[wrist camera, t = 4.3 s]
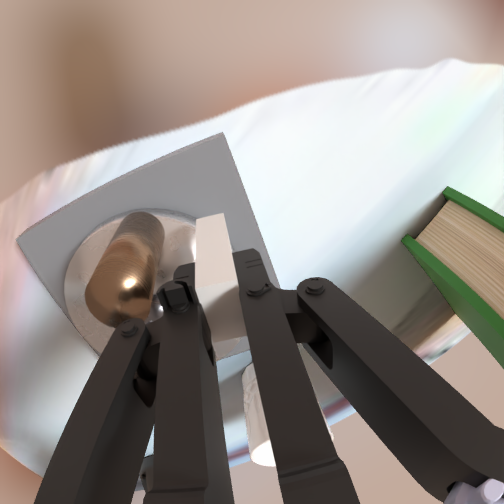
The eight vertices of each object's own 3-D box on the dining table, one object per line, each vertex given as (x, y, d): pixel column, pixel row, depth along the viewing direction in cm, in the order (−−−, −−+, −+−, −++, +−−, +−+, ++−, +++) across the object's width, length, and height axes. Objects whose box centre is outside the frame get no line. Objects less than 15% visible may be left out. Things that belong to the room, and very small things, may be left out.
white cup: (319, 359, 33) (350, 431, 24) (279, 399, 35) (298, 467, 26) (261, 341, 30) (284, 425, 21) (223, 385, 32) (234, 463, 24)
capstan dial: (246, 360, 28) (264, 443, 20) (101, 365, 26) (84, 444, 18) (249, 195, 20) (282, 263, 12) (53, 209, 18) (-14, 277, 10)
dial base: (128, 371, 29) (126, 387, 27) (26, 229, 21) (13, 241, 19) (290, 319, 29) (297, 335, 27) (222, 132, 20) (224, 135, 18)
